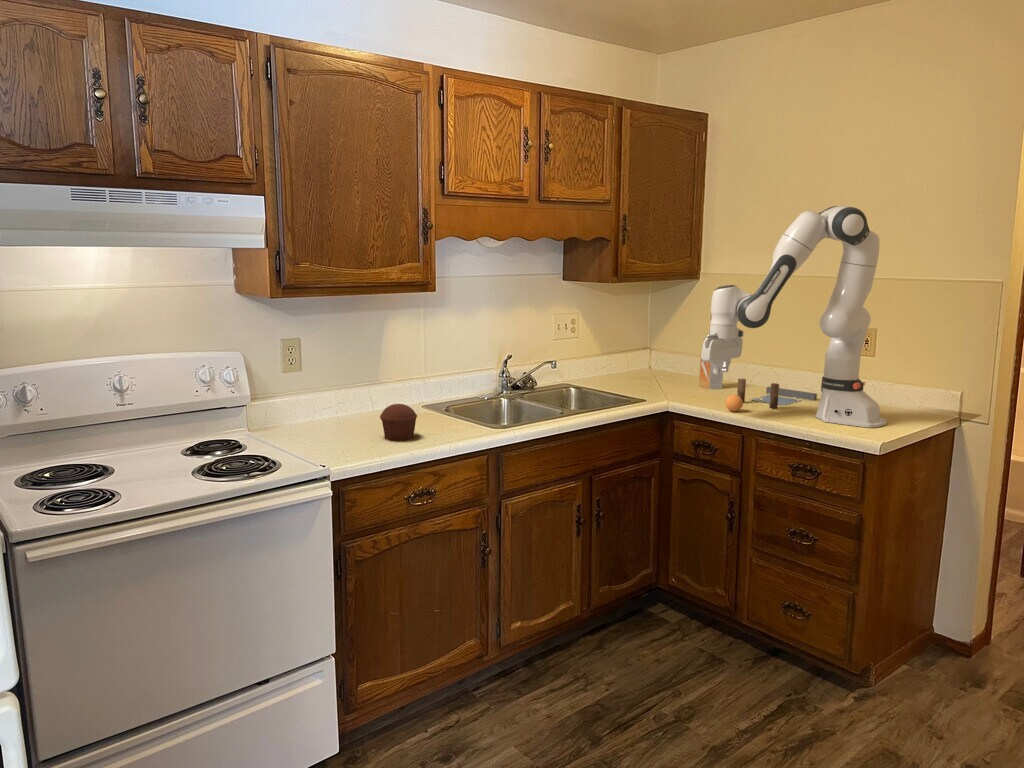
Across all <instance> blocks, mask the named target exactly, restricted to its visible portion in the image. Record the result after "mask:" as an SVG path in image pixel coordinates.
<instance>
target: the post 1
mask: <svg viewBox="0 0 1024 768" xmlns="http://www.w3.org/2000/svg"><path fill="white" fill-rule="evenodd" d="M746 382H747V379H746V378H738V380H737V392H736V393H737V394H736V395H738V396H739V397H741V399H742V401H743V404H745V401H746V399H745V398H746Z"/></svg>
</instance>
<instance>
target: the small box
mask: <svg viewBox="0 0 1024 768" xmlns="http://www.w3.org/2000/svg"><path fill="white" fill-rule="evenodd" d="M723 365H724V360H721V361H719V364H718V367H719V368H720V373H718V374H714V373H713V367H712V364H711V362H704V361H702V359H701V358H700V365H699V366H700V367H699V380H698V381H699V383H698V384H699V385H698V387H701V388H704V389H706V388H707V390H709V389H712V390H722V389H723V377H724V372H722V367H723Z"/></svg>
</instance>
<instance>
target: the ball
mask: <svg viewBox="0 0 1024 768" xmlns="http://www.w3.org/2000/svg"><path fill="white" fill-rule="evenodd" d="M724 403H725V407H726V408H727V410H728V411H730V412H733V413H735V412H738V411H740V410H741V409H742V408H743V405H744V403H743V401H742V399H741V397H739V396H738V395H737V394H731V395H729V396H727V398H726V399H725V402H724Z"/></svg>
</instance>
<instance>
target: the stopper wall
mask: <svg viewBox="0 0 1024 768" xmlns="http://www.w3.org/2000/svg"><path fill="white" fill-rule="evenodd" d="M770 392H771V386H766V391H765V393H766V394H768V393H770ZM780 395H782V396H781V397H787V396H788V397H787V398H793V397H796V398H795V399H800V398H802V399H801V400H806V399H809V400H808V401H813V400H815V401H817V398H818V393H817V392H816V393H814V392H808V391H801V390H794V389H788V388H781V387H779V394H778V396H780Z"/></svg>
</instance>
